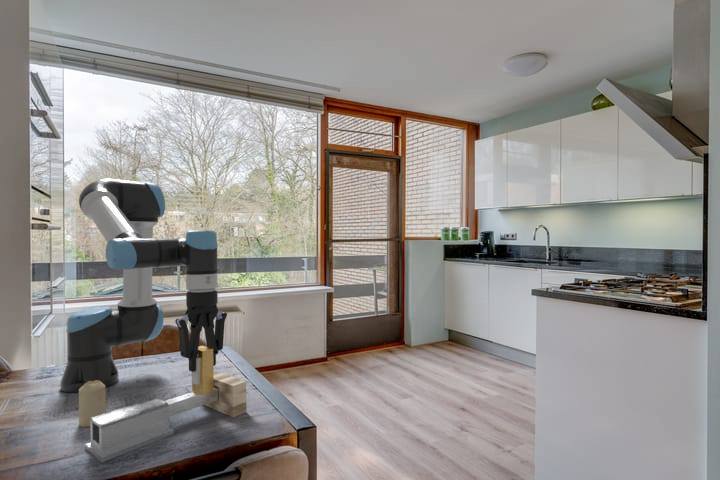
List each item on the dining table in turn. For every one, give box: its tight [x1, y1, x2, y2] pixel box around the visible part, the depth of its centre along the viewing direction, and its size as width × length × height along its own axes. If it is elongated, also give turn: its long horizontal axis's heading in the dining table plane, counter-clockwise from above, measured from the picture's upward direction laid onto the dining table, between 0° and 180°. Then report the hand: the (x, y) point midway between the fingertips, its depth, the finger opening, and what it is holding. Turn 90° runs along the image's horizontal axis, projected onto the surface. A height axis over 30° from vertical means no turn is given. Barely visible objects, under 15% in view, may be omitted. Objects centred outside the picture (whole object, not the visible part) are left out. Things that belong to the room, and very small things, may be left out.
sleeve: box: [84, 397, 175, 463], centre depth 91 cm, size 9×15×7 cm, turn 142°
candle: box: [78, 380, 107, 428], centre depth 101 cm, size 6×6×10 cm
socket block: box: [204, 370, 247, 418], centre depth 109 cm, size 16×4×8 cm, turn 52°
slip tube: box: [163, 345, 219, 418], centre depth 101 cm, size 5×22×14 cm, turn 142°
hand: (202, 381), depth 105 cm, fingers closed on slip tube, 3 cm apart
